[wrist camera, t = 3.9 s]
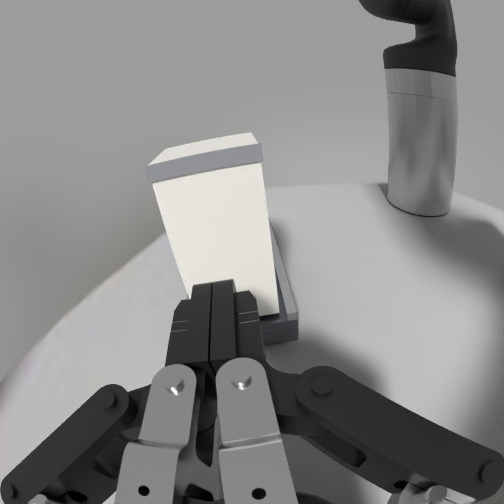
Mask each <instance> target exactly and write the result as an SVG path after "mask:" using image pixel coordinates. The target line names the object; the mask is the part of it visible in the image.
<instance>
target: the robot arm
mask: <svg viewBox="0 0 504 504" xmlns="http://www.w3.org/2000/svg"><path fill="white" fill-rule="evenodd" d="M359 1H360V3H361V5H362V6H363V7H364V9H365V10H367V11H368V12H369V13H371V14H372V15H374V16H377V17H380V18H383V19H386V20H393V21H398V22H404V23H409V24H414V25H415V29H416V37H415V39H414V40H413V41H411V42H408V43H404V44H398V45H394V46H390V47H388V48H386V49H385V50H384V52H383V60H384V68H385V77H386V89H387V100H388V101H387V102H388V121H389V172H388V196H387V198H388V200H389V202H390V203H391V204H393V205H394V206H395V207H397V208H399V209H401V210H404V211H407V212H410V213H413V214H418V215H424V216H439V215H443V214H446V213H447V212H448V211H449V210H450V205H451V198H452V191H453V183H454V175H455V164H456V151H457V124H458V117H457V116H458V113H457V112H458V111H457V87H456V78H455V77H456V73H455V64H456V58H457V40H456V33H455V26H454V19H453V13H452V7H451V2H450V0H359ZM217 400H218V410H219V415H218V413H217ZM219 419H220V428H221V437H222V444H221V446H220V448H219V464H220V472H221V479H222V486H223V493H224V499H220V500H219V496H220V480H219V475H218V472H217V449H218V433H219ZM280 433H285V434H292V435H300V436H301V437H302V438H304V439H305V440H306V441H308V442H309V443H311V444H312V445H313V446H315V447H316V448H318V449H319V450H321V451H322V452H323V453H325V454H326V455H328V456H329V457H331V458H332V459H334V460H335V461H337V462H338V463H340V464H342V465H343V466H345V467H346V468H348V469H349V470H351V471H353V472H354V473H356V474H358V475H359V476H361V477H363V478H364V479H366V480H368V481H369V482H371V483H373V484H375V485H377V486H378V487H380V488H382V489H384V490H386V491H387V492H389V493H391V494H392V495H391V497H390V498H389V500H388V503H387V504H474V503H475V502H478V501H481V500H483V499H486V498H489V497H490V496H492V495H493V494H495V493H496V492H497V491H498V490H499V488H500V487H501V485H502V484H503V481H504V457H503V456H502V455H501V454H500V453H498V452H496V451H494V450H492V449H489V448H487V447H485V446H482V445H480V444H478V443H475V442H473V441H471V440H469V439H467V438H465V437H462V436H460V435H458V434H456V433H454V432H452V431H450V430H448V429H446V428H444V427H441V426H439V425H437V424H435V423H433V422H431V421H429V420H427V419H425V418H424V417H422V416H420V415H418V414H416V413H414V412H412V411H410V410H408V409H406V408H404V407H403V406H401V405H399V404H397V403H395V402H393V401H391V400H390V399H388V398H386V397H384V396H382V395H381V394H379V393H377V392H375V391H373V390H372V389H370V388H368V387H366V386H365V385H363V384H361V383H359V382H358V381H356V380H354V379H352V378H351V377H349V376H347V375H346V374H344V373H342V372H341V371H339V370H337V369H335V368H333V367H329V366H317V367H313V368H310V369H308V370H306V371H305V372H304V373H302V374H301V375H298V374H288V373H283V372H280V371H277V370H275V369H274V368H272V367H271V366H270V365H269V364H268V363H267V361H266V357H265V350H264V343H263V336H262V329H261V323H260V317H259V312H258V306H257V301H256V298H255V297H254V296H253V294H252V293H251V292H250V291H249V290H248V291H241V292H237V291H236V287H235V283H234V279H228V280H222V281H215V282H209V283H202V284H196V285H193V287H192V293H191V299H187V300H181V302H180V303H179V305H178V306H177V308H176V309H175V311H174V316H173V323H172V327H171V333H170V338H169V344H168V350H167V356H166V363H165V367H164V368H162V369H161V370H160V371H159V372H158V373H157V374H156V375H155V376H154V378H153V381H152V384H150V385H148V386H145V387H142V388H139V389H136V390H133V391H129V392H127V391H126V390H125V389H124V388H123V387H122V386H120V385H117V384H109V385H106V386H104V387H102V388H100V389H99V390H98V391H97V392H96V393H95V394H94V395H93V396H91V397H90V398H89V399H88V400H87V401H86V402H85V403H84V404H83V405H82V406H81V407H80V408H79V409H77V410H76V411H75V412H74V413H73V414H72V415H71V416H70V417H69V418H68V419H67V420H66V421H65V422H63V423H62V424H61V425H60V426H59V427H58V428H57V429H56V430H55V431H54V432H53V433H52V434H51V435H50V436H48V437H47V438H46V439H45V440H44V441H43V442H42V443H41V444H40V445H39V446H38V447H37V448H36V449H35V450H33V451H32V452H31V453H30V454H29V455H28V456H27V457H26V458H25V459H24V460H23V461H22V462H21V463H20V464H18V465H17V466H16V467H15V468H14V469H13V470H12V471H11V472H10V473H9V474H8V475H7V476H6V477H5V478H4V479H3V480H2V483H1V487H0V492H1V497H2V500H3V502H4V504H102V503H103V502H104V501H106V500H107V499H108V498H109V497H110V496H111V495H112V494H113V493H114V492H115V491H116V496H115V503H114V504H333V503H331V502H329V501H327V500H325V499H323V498H320V497H317V496H314V495H310V494H306V493H299V492H295V489H294V485H293V481H292V477H291V473H290V469H289V466H288V462H287V458H286V453H285V449H284V445H283V442H282V438H281V435H280Z"/></svg>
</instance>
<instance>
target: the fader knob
mask: <svg viewBox="0 0 504 504" xmlns="http://www.w3.org/2000/svg"><path fill="white" fill-rule="evenodd" d="M261 161H263V156H262V149H261V143H260V142H259V140H258V139H257V137H256V136H255V134H254V133H253V132H248V133H241V134H235V135H229V136H224V137H218V138H213V139H207V140H202V141H198V142H193V143H188V144H184V145H179V146H175V147H171V148H167V149H164V150H163V151H162V152H161V153H159V155H157V156H156V157H155V158H154V159H153V160H152V161H150V162H149V163H148V164H147V165H146V166H145V169H146V173H147V176H148V180H149V183H151V182H152V184H153V188H154V191H155V195H156V198H157V202H158V205H159V209H160V212H161V215H162V219H163V222H164V225H165V228H166V232H167V235H168V238H169V241H170V244H171V247H172V250H173V253H174V256H175V259H176V262H177V265H178V268H179V271H180V274H181V277H182V279H183V282H184V285H185V288H186V291H187V293H188V296H189V299H191V293H192V287H193V285H196V284H202V283H209V282H215V281H222V280H228V279H234V283H235V287H236V291H237V292H241V291H248V290H249V291H250V292H251V293H252V294H253V296H254V297H255V298H256V301H257V306H258V312H259V316H264V315H270V314H276V313H280V312H279V303H278V294H277V285H276V277H275V268H274V260H273V252H272V243H271V235H270V227H269V219H268V212H267V204H266V196H265V189H264V182H263V175H262V167H261Z"/></svg>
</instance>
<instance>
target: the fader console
mask: <svg viewBox="0 0 504 504" xmlns="http://www.w3.org/2000/svg"><path fill="white" fill-rule="evenodd" d="M268 219H269V217H268ZM269 227H270V235H271V243H272V252H273V260H274V268H275V277H276V285H277V294H278V303H279V312H280V313H276V314H270V315H264V316H259V317H260V323H261V329H262V336H263V343H264V345H270V344H276V343H282V342H288V341H293V340H298V321H297V310H296V307H295V303H294V300H293V296H292V293H291V289H290V286H289V282H288V279H287V276H286V272H285V269H284V266H283V262H282V259H281V256H280V252H279V249H278V246H277V242H276V239H275V236H274V233H273V229H272V226H271V223H270V220H269ZM187 299H189V296H188V293H187V298H186V300H187Z"/></svg>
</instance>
